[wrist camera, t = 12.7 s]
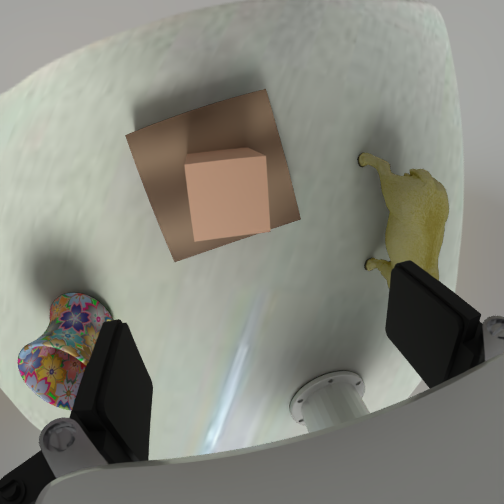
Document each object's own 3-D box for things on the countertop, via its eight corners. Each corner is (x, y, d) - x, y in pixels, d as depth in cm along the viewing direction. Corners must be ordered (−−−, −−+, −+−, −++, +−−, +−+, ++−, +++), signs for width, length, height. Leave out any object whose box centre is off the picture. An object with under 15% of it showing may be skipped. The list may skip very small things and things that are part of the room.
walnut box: (285, 205, 33) (300, 219, 29) (176, 242, 33) (174, 262, 28) (254, 93, 28) (265, 88, 24) (135, 133, 28) (125, 135, 23)
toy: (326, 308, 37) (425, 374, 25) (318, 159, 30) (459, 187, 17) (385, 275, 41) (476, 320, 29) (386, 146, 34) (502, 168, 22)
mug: (40, 287, 31) (3, 341, 22) (109, 283, 33) (85, 343, 23) (69, 364, 36) (49, 423, 26) (131, 364, 38) (122, 428, 28)
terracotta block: (251, 205, 28) (270, 231, 21) (193, 212, 27) (194, 241, 21) (247, 147, 26) (265, 156, 19) (186, 154, 25) (184, 164, 18)
